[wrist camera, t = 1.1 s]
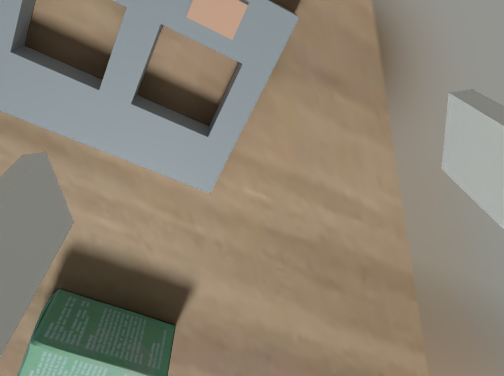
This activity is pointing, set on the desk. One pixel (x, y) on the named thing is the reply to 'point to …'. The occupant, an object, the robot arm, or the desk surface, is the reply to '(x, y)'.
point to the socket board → (130, 77)
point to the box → (96, 340)
